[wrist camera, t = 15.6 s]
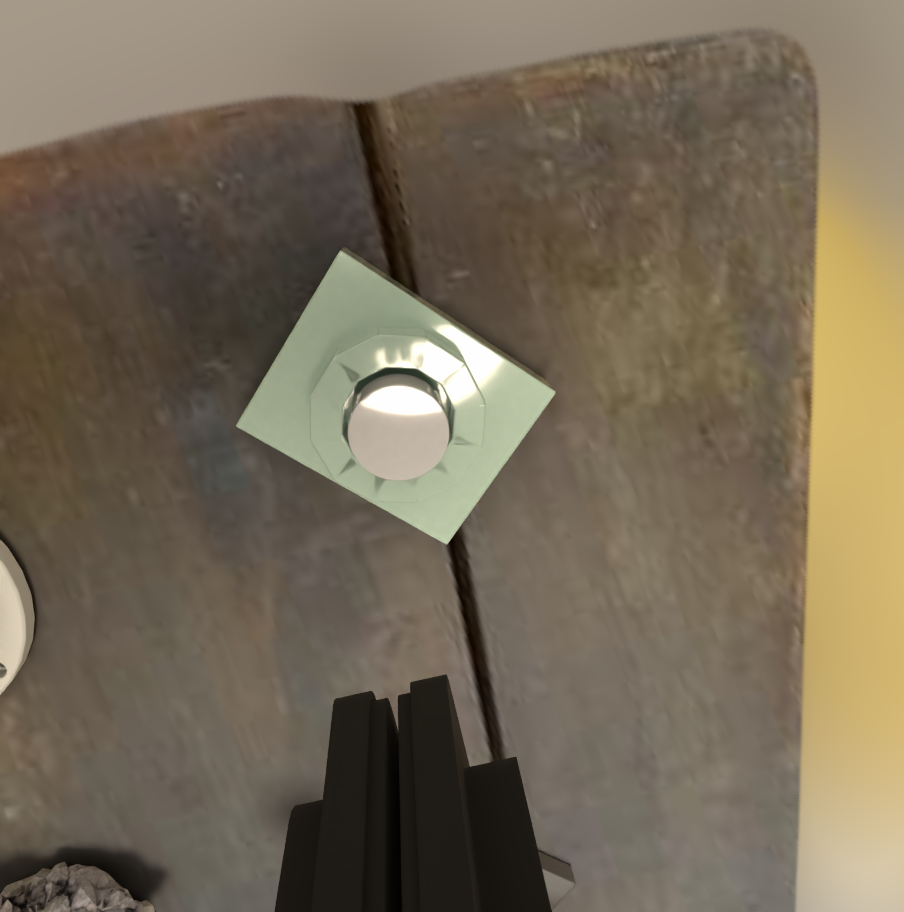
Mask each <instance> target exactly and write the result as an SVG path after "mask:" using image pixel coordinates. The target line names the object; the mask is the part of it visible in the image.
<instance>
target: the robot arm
mask: <svg viewBox="0 0 904 912" xmlns="http://www.w3.org/2000/svg"><path fill="white" fill-rule="evenodd" d="M34 621H35V615H34V609H33V602H32V596H31V592H30V590H29V587H28V584H27V582H26V579H25V576H24V574H23V571H22V569H21V568H20V566H19V565H18V563H17V561H16V560H15V558H14V557H13V555H12V553H11V552H10V550H9V549H8V547H7V546H6V545H5V544H4V543H3V542H2V541H1V540H0V695H1V694H2V692H3V691H4V690H5V689H6V688H7V687H8V685H9V684H10V683H11V682H12V681H13V679H14V678H15V677H16V675H17V673H18V672H19V670H20V669H21V667H22V666H23V664H24V663H25V661H26V659H27V656H28V653H29V650H30V647H31V644H32V641H33V633H34ZM398 731H399V733H398ZM275 912H552V910H551V905H550V901H549V897H548V892H547V888H546V884H545V879H544V875H543V871H542V866H541V862H540V857H539V853H538V849H537V844H536V840H535V836H534V831H533V827H532V823H531V818H530V814H529V810H528V805H527V801H526V797H525V792H524V788H523V784H522V779H521V775H520V771H519V766H518V762H517V758H516V757H513V758H508V759H504V760H499V761H495V762H490V763H486V764H481V765H477V766H472V767H470V766H469V762H468V758H467V754H466V750H465V746H464V741H463V737H462V733H461V729H460V725H459V721H458V717H457V713H456V709H455V705H454V700H453V696H452V692H451V688H450V684H449V680H448V677H447V675H441V676H437V677H432V678H428V679H423V680H419V681H414V682H411V684H410V693H407V694H402V695H399V696H398V729H397V726H396V722H395V718H394V715H393V711H392V708H391V705H390V701H389V699H388V698H384V699H380V700H376V698H375V695H374V693H373V692H372V691H369V692H364V693H360V694H355V695H350V696H346V697H341V698H337V699H335V700H334V704H333V712H332V721H331V730H330V740H329V749H328V758H327V767H326V777H325V786H324V795H323V800H319V801H315V802H310V803H306V804H301V805H297V806H294V808H293V810H292V811H291V815H290V819H289V824H288V831H287V837H286V843H285V849H284V856H283V862H282V868H281V875H280V881H279V887H278V893H277V900H276V906H275Z"/></svg>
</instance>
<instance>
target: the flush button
mask: <svg viewBox="0 0 904 912" xmlns="http://www.w3.org/2000/svg"><path fill="white" fill-rule="evenodd" d="M348 440H349V445H350V448H351V451H352V453H353V455H354V456H355V458H356V459H357V461H358V462H359V463H360V464H361V465H362V466H363V467H364V468H365V469H366V470H367V471H369V472H370V473H372V474H374V475H376V476H378V477H380V478H383V479H387V480H394V481H404V480H410V479H414V478H417V477H419V476H422V475H423V474H425V473H427V472H428V471H430V470H431V469H432V468H433V467H434V466H436V465H437V463H438V462H439V461H440V460H441V458H442V457H443V455H444V453H445V451H446V448H447V445H448V441H449V424H448V420H447V416H446V412H445V409H444V405H443V403H442V400H441V398H440V397H439V395H438V393H437V392H436V391H435V390H434V389H433V388H432V387H431V386H430V385H429V384H428V383H426V382H425V381H423V380H422V379H420V378H418V377H415V376H412V375H408V374H388V375H384V376H381V377H379V378H376V379H374V380H373V381H371V382H369V383H368V384H367V385H366V386H365V387H364V388H363V389H362V390H361V391H360V392H359V394H358V395H357V397H356V398H355V400H354V403H353V405H352V409H351V413H350V419H349V425H348Z"/></svg>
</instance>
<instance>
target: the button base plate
mask: <svg viewBox="0 0 904 912" xmlns="http://www.w3.org/2000/svg"><path fill="white" fill-rule="evenodd" d="M388 374H408V375H412V376H415V377H418V378H420V379H422V380H423V381H425V382H426V383H428V384H429V385H430V386H431V387H432V388H433V389H434V390H435V391H436V392H437V393H438V395H439V397H440V398H441V400H442V403H443V405H444V409H445V412H446V416H447V420H448V424H449V441H448V445H447V448H446V451H445V453H444V455H443V457H442V458H441V460H440V461H439V462H438V463H437V465H436V466H434V467H433V468H432V469H431V470H430V471H428V472H427V473H425V474H423V475H422V476H419V477H417V478H414V479H410V480H404V481H394V480H387V479H383V478H380V477H378V476H376V475H374V474H372V473H370V472H369V471H367V470H366V469H365V468H364V467H363V466H362V465H361V464H360V463H359V462H358V461H357V459H356V458H355V456H354V455H353V453H352V451H351V448H350V445H349V440H348V425H349V419H350V413H351V409H352V405H353V403H354V400H355V398H356V397H357V395H358V394H359V392H360V391H361V390H362V389H363V388H364V387H365V386H366V385H367V384H368V383H369V382H371V381H373V380H374V379H376V378H379V377H381V376H384V375H388ZM555 393H556V392H555V390H554V389H553V388H552V387H551V386H550V385H549V384H548V382H547V381H546V380H545V379H544V378H542V377H541V376H539V375H538V374H536V373H535V372H533V371H532V370H530V369H529V368H527V367H526V366H524V365H523V364H521V363H520V362H518V361H517V360H515V359H514V358H512V357H511V356H509V355H507V354H506V353H504V352H503V351H501V350H500V349H498V348H497V347H495V346H494V345H492V344H491V343H489V342H488V341H486V340H485V339H483V338H482V337H480V336H479V335H477V334H476V333H474V332H473V331H471V330H470V329H468V328H467V327H465V326H464V325H462V324H461V323H459V322H458V321H456V320H455V319H453V318H452V317H450V316H448V315H447V314H445V313H444V312H442V311H441V310H439V309H438V308H436V307H435V306H433V305H432V304H430V303H429V302H427V301H426V300H424V299H423V298H421V297H420V296H418V295H417V294H415V293H414V292H412V291H411V290H409V289H408V288H406V287H405V286H403V285H402V284H400V283H399V282H397V281H396V280H394V279H393V278H391V277H389V276H388V275H386V274H385V273H383V272H382V271H380V270H379V269H377V268H376V267H374V266H373V265H371V264H370V263H368V262H367V261H365V260H364V259H362V258H361V257H359V256H358V255H356V254H355V253H353V252H352V251H350V250H349V249H347V248H346V247H343V248H342V249H341V250H340V251H339V253H338V255H337V256H336V258H335V260H334V261H333V263H332V265H331V266H330V268H329V270H328V271H327V273H326V275H325V276H324V278H323V280H322V281H321V283H320V285H319V287H318V288H317V290H316V292H315V293H314V295H313V297H312V298H311V300H310V302H309V303H308V305H307V307H306V308H305V310H304V312H303V313H302V315H301V317H300V318H299V320H298V322H297V323H296V325H295V327H294V329H293V330H292V332H291V334H290V335H289V337H288V339H287V340H286V342H285V344H284V345H283V347H282V349H281V350H280V352H279V354H278V355H277V357H276V359H275V360H274V362H273V364H272V366H271V367H270V369H269V371H268V372H267V374H266V376H265V377H264V379H263V381H262V382H261V384H260V386H259V387H258V389H257V391H256V392H255V394H254V396H253V397H252V399H251V401H250V403H249V404H248V406H247V408H246V409H245V411H244V413H243V414H242V416H241V418H240V419H239V421H238V423H237V424H236V426H237V427H238V428H239V429H241V430H243V431H245V432H247V433H248V434H250V435H252V436H254V437H255V438H257V439H259V440H261V441H263V442H264V443H266V444H268V445H270V446H271V447H273V448H275V449H277V450H279V451H280V452H282V453H284V454H286V455H287V456H289V457H291V458H293V459H295V460H296V461H298V462H300V463H302V464H304V465H305V466H307V467H309V468H311V469H312V470H314V471H316V472H318V473H320V474H321V475H323V476H325V477H327V478H328V479H330V480H332V481H334V482H336V483H337V484H339V485H341V486H343V487H344V488H346V489H348V490H350V491H352V492H353V493H355V494H357V495H359V496H360V497H362V498H364V499H366V500H368V501H369V502H371V503H373V504H375V505H377V506H378V507H380V508H382V509H384V510H385V511H387V512H389V513H391V514H393V515H394V516H396V517H398V518H400V519H401V520H403V521H405V522H407V523H409V524H410V525H412V526H414V527H416V528H417V529H419V530H421V531H423V532H425V533H426V534H428V535H430V536H432V537H433V538H435V539H437V540H439V541H441V542H442V543H444V544H448V543H449V541H450V540H451V538H452V537H453V536H454V534H455V533H456V531H457V530H458V529H459V527H460V526H461V524H462V523H463V522H464V520H465V519H466V517H467V516H468V515H469V513H470V512H471V511H472V509H473V508H474V506H475V505H476V504H477V502H478V501H479V499H480V498H481V497H482V495H483V494H484V492H485V491H486V490H487V488H488V487H489V485H490V484H491V483H492V481H493V480H494V478H495V477H496V476H497V474H498V473H499V472H500V470H501V469H502V467H503V466H504V465H505V463H506V462H507V460H508V459H509V458H510V456H511V455H512V453H513V452H514V451H515V449H516V448H517V446H518V445H519V444H520V442H521V441H522V439H523V438H524V437H525V435H526V434H527V432H528V431H529V430H530V428H531V427H532V426H533V424H534V423H535V421H536V420H537V419H538V417H539V416H540V414H541V413H542V412H543V410H544V409H545V407H546V406H547V405H548V403H549V402H550V400H551V399H552V398H553V396H554V395H555Z"/></svg>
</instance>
